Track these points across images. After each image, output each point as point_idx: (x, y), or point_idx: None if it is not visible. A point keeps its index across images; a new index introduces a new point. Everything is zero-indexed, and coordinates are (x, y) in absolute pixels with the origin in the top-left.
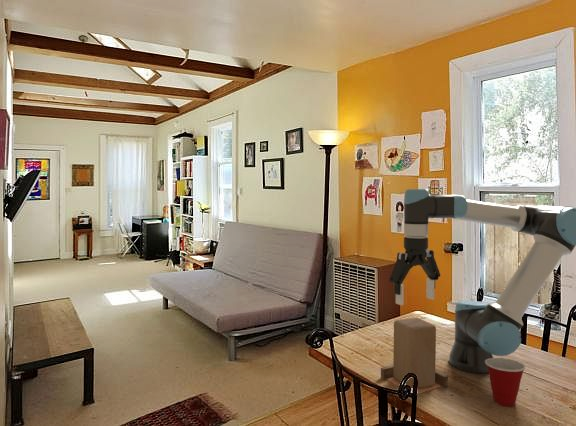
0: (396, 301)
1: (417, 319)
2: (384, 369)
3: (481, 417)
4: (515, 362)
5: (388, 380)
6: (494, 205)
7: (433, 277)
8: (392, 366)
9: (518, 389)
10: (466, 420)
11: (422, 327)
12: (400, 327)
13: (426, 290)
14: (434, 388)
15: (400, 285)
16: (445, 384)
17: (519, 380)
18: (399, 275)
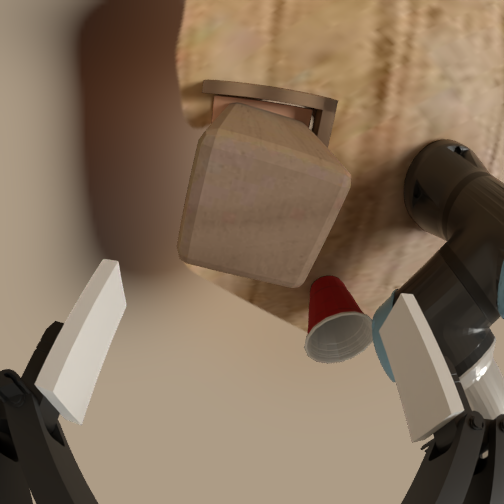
0: (98, 275)
1: (315, 204)
2: (204, 92)
3: (245, 290)
4: (368, 339)
5: (214, 100)
6: None
7: (426, 456)
8: (240, 92)
9: (331, 324)
10: (216, 282)
11: (237, 273)
12: (188, 188)
13: (420, 333)
14: None
15: (60, 408)
16: None
17: (330, 340)
18: (24, 476)
